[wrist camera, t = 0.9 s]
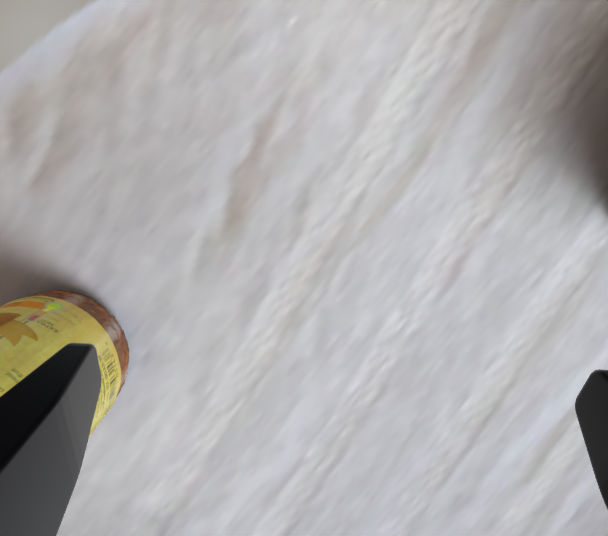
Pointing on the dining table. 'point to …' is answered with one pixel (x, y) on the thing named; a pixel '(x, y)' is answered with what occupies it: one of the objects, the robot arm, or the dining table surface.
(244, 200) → the dining table surface
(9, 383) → the sauce bottle
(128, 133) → the dining table surface
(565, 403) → the dining table surface
